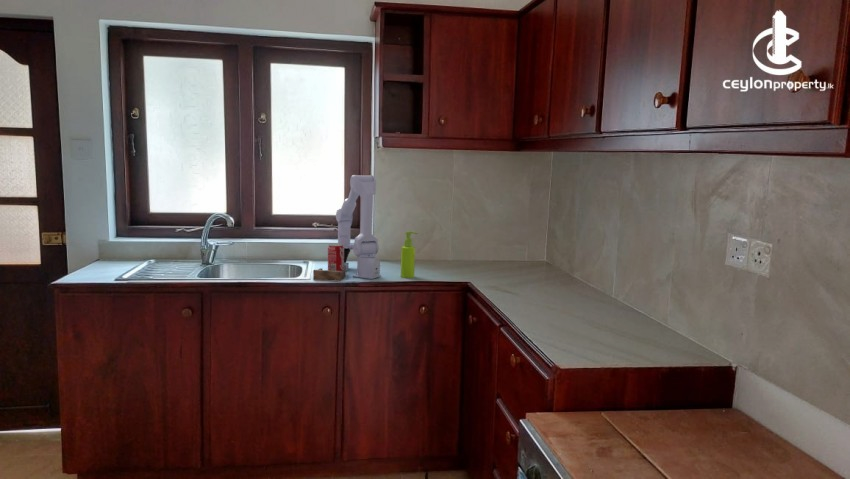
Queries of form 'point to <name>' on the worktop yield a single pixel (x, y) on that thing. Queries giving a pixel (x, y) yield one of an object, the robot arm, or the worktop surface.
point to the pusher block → (346, 266)
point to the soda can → (335, 257)
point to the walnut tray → (328, 275)
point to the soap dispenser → (408, 257)
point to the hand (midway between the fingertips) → (343, 264)
